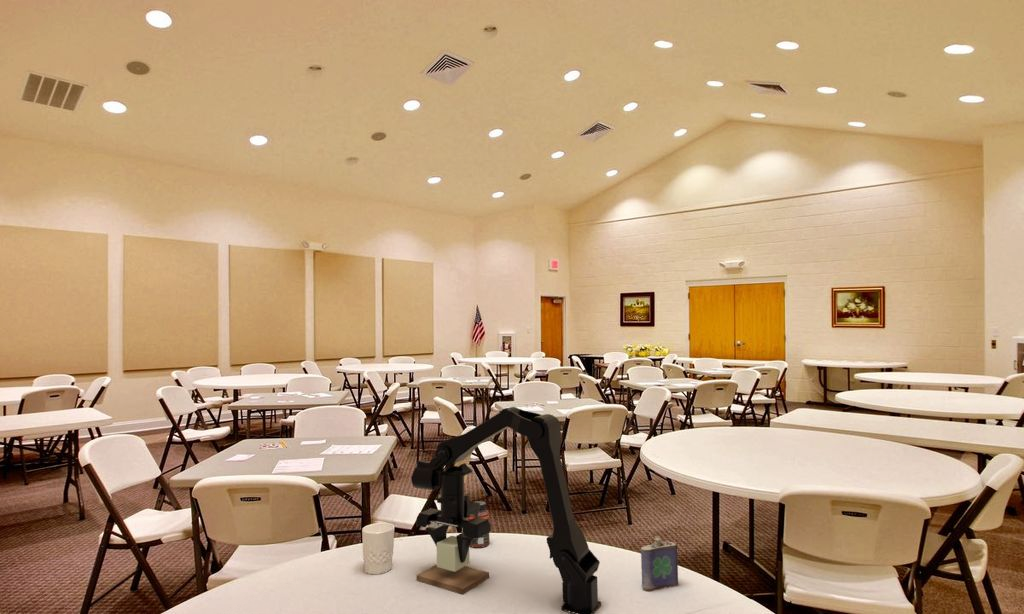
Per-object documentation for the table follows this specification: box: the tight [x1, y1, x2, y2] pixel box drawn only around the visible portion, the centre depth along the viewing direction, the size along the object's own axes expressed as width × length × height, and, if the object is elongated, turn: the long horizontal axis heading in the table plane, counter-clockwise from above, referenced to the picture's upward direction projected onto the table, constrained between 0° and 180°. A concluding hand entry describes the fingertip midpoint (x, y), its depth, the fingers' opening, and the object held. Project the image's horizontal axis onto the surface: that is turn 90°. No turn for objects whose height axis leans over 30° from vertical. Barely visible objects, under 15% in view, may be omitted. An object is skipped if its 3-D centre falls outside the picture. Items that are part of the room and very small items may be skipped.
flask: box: [640, 535, 679, 592], centre depth 117 cm, size 9×3×11 cm, turn 109°
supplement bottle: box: [467, 500, 490, 549], centre depth 144 cm, size 6×6×11 cm
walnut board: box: [416, 564, 490, 595], centre depth 122 cm, size 14×10×1 cm
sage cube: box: [436, 535, 471, 572], centre depth 123 cm, size 6×6×6 cm
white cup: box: [361, 522, 395, 575], centre depth 129 cm, size 8×8×10 cm
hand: (453, 559), depth 122 cm, fingers closed on sage cube, 5 cm apart
